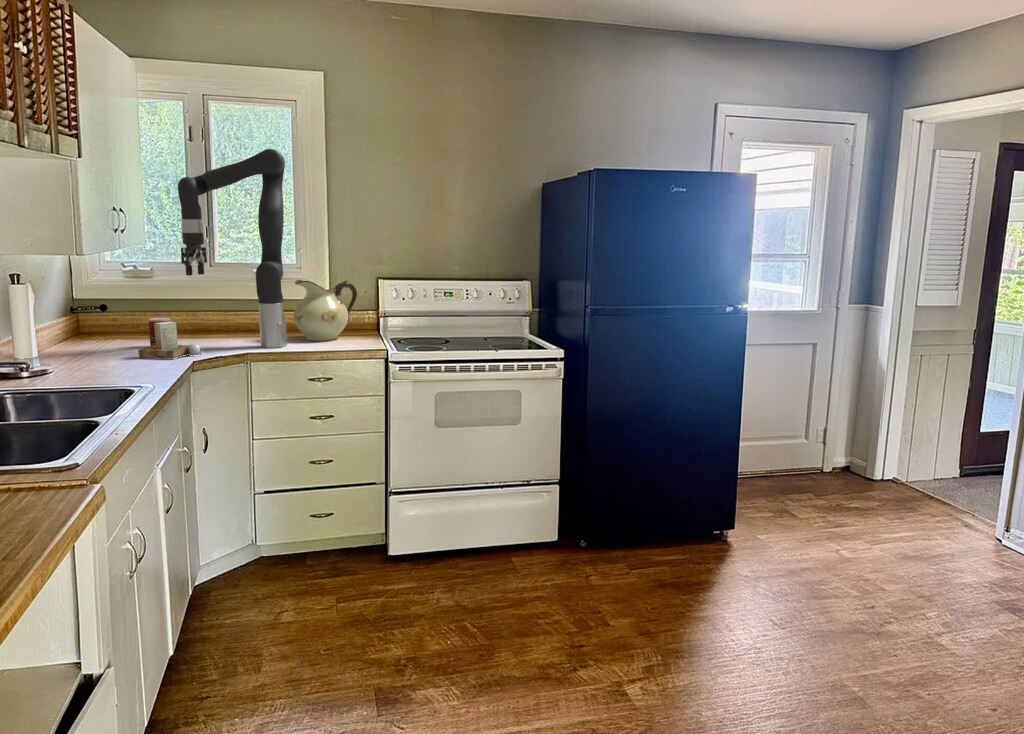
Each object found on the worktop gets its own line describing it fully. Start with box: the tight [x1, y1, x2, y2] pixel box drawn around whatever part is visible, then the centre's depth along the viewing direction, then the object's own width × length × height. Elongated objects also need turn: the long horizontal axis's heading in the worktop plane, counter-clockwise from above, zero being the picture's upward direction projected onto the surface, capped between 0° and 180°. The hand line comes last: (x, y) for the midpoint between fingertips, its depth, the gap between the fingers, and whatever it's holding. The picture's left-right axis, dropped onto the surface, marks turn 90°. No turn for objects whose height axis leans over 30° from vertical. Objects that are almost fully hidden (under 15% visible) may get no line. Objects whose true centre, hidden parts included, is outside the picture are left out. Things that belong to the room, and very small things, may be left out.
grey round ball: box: [188, 343, 201, 356], centre depth 272 cm, size 4×4×4 cm
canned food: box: [148, 317, 171, 347], centre depth 292 cm, size 8×8×11 cm
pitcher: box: [293, 279, 358, 342], centre depth 317 cm, size 22×24×25 cm
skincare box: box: [154, 321, 179, 350], centre depth 270 cm, size 6×4×12 cm
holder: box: [138, 344, 190, 359], centre depth 271 cm, size 13×14×3 cm
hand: (195, 274), depth 286 cm, fingers open, 8 cm apart
